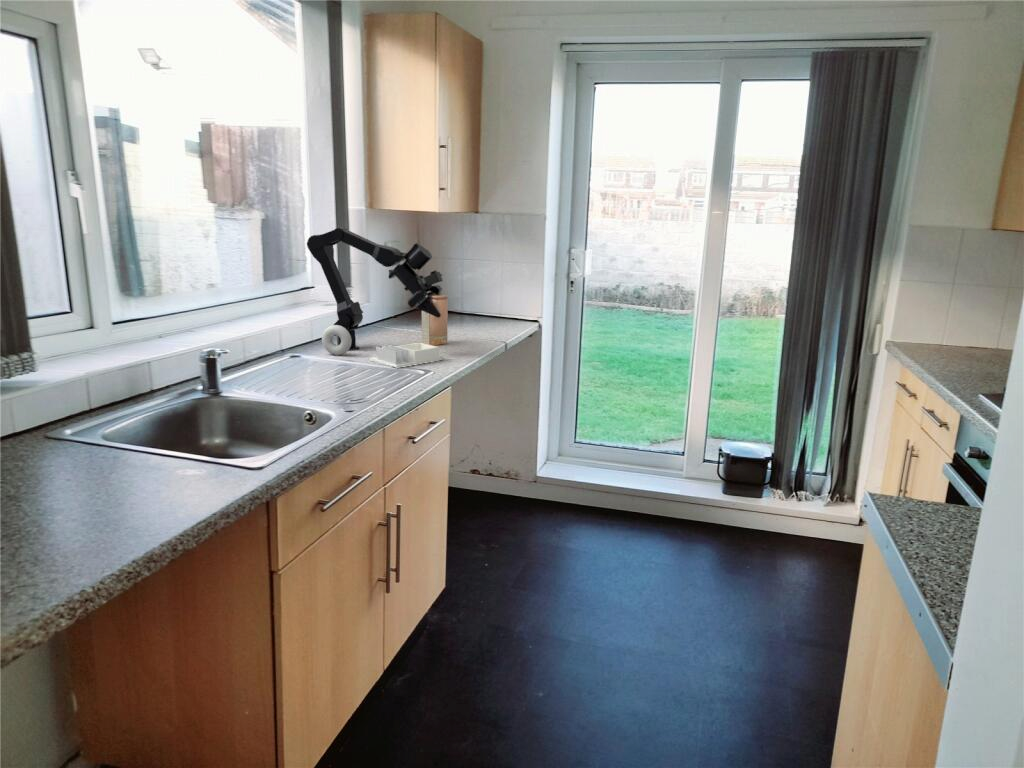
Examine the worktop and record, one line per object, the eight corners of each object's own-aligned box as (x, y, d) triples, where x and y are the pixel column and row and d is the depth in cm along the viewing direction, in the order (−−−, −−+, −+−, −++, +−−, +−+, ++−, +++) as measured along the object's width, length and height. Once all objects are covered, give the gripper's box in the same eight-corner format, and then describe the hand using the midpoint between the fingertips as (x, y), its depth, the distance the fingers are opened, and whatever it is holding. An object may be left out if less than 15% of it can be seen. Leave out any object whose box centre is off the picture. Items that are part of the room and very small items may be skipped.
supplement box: (429, 346, 249) (428, 309, 246) (421, 344, 253) (420, 307, 250) (448, 343, 255) (448, 307, 251) (440, 341, 258) (440, 305, 255)
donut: (320, 355, 232) (319, 325, 230) (325, 353, 235) (323, 323, 233) (349, 357, 231) (348, 326, 228) (353, 355, 234) (352, 324, 231)
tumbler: (426, 334, 235) (426, 295, 231) (440, 332, 238) (440, 293, 235) (437, 337, 231) (437, 297, 227) (451, 335, 235) (451, 295, 231)
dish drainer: (369, 361, 226) (369, 345, 224) (415, 353, 238) (414, 338, 237) (396, 368, 216) (396, 352, 215) (442, 360, 229) (442, 345, 227)
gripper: (417, 265, 221) (451, 302, 221) (436, 260, 238) (467, 295, 239) (393, 289, 224) (426, 326, 225) (414, 282, 242) (445, 317, 242)
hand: (442, 315), depth 233 cm, fingers closed on tumbler, 6 cm apart
